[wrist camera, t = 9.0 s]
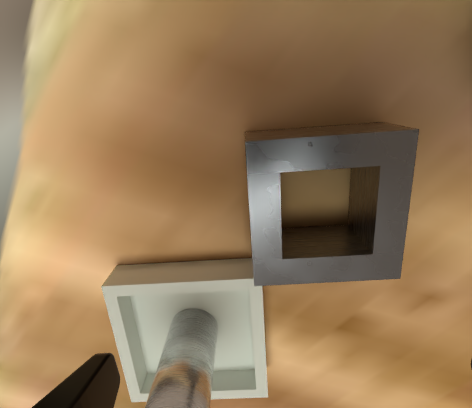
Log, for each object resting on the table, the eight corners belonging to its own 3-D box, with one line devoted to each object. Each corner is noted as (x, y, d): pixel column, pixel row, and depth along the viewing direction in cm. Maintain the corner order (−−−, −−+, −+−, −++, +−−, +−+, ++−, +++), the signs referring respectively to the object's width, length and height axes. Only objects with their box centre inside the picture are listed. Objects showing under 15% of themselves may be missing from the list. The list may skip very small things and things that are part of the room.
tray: (259, 257, 21) (261, 278, 18) (265, 367, 24) (267, 397, 22) (116, 265, 21) (101, 286, 19) (141, 372, 25) (131, 402, 22)
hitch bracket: (381, 122, 18) (419, 129, 14) (370, 244, 20) (400, 278, 17) (244, 131, 18) (245, 141, 14) (251, 251, 21) (254, 286, 17)
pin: (223, 299, 21) (207, 465, 12) (228, 350, 23) (219, 533, 13) (158, 302, 21) (91, 468, 12) (168, 353, 23) (115, 534, 13)
